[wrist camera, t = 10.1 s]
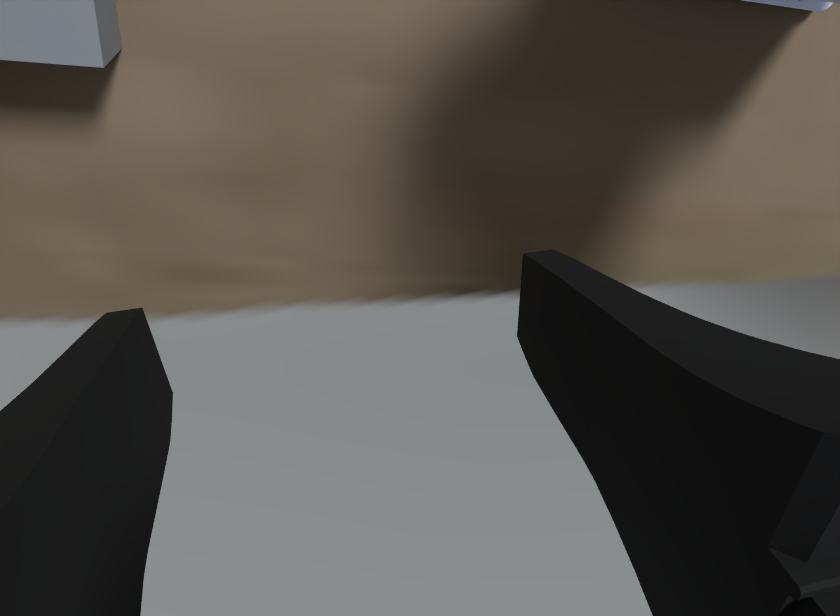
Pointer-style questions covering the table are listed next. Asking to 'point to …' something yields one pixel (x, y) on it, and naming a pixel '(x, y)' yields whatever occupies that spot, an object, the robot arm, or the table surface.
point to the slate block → (59, 31)
